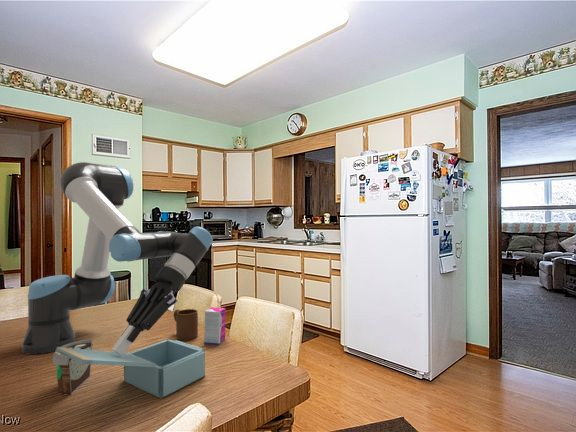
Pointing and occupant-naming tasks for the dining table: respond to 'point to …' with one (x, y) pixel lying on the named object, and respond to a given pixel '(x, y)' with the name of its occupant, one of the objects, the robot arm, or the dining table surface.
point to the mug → (186, 324)
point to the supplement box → (214, 325)
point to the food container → (72, 368)
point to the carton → (166, 367)
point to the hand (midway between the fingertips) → (117, 352)
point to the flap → (103, 357)
